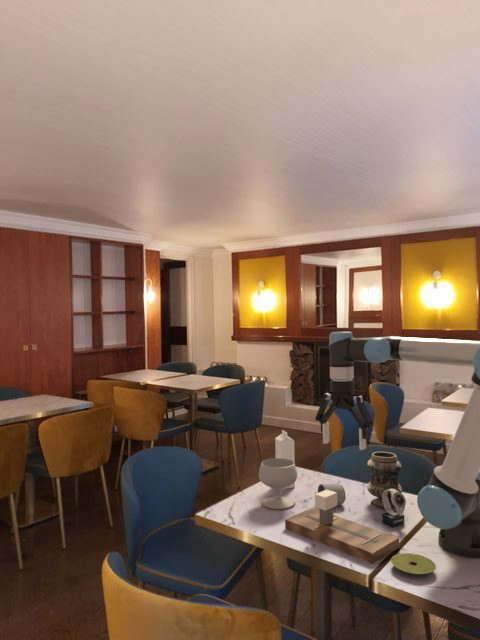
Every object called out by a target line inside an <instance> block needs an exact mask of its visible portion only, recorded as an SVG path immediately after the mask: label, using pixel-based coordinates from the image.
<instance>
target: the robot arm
mask: <svg viewBox="0 0 480 640" xmlns="http://www.w3.org/2000/svg"><path fill="white" fill-rule="evenodd" d="M328 337H329V341H328V342H329V343H328V347H329V348H328V349H329V378H330V379H331V380H330V383H329V384H330V387H329V388H330V392H331V394H330V393H329V392H325V393H323V394H322V399H321V400H322V401H321V403H320V406H319V408H318V410H317V413H316V416H315V421H318V422H319V423H320V432H321V433H322V444H324V445H325V444H329V443H331V441H330V422H328V420H329V419H330V418H331V416H332V415H333V414H334V412H335V411H336V410H337V409H338V410H339V409H340V410H341V409H342V410H347V411H348V412H349V413H350V414H351V416H353V418H354V420H355V421H356V422H357V424H358V425H359V427H360V428H358V437H359V438H358V439H359V441H358V442H359V446H358V447H359V451H363V450H365V449H367V439H369V428H372V427H373V426H374V425H375V424H374V422H373V419H372V418H371V417H372V416H371V415H370V413H369V411H368V408H367V406H366V404H365V400H364V396H363V395H358V396H355V381H354V378H355V374H354V373H355V371H354V370H355V367H354V363H356V362H357V363H359V362H360V363H373V364H376V363H377V364H379V363H385V362H387V361H388V360H389V361H390V360H391V361H403V362H414V363H415V362H416V363H426V364H436V365H437V364H439V365H446V366H447V365H450V366H459V367H460V366H461V367H467V368H468V367H470V368H473V373H472V375H471V378H470V381H471V383H472V385H473V390H472V392H471V394H470V398H469V399H468V403H467V405H466V407H465V410H464V413H463V414H462V417H461V420H460V422H459V424H458V426H457V429H456V432H455V434H454V435H453V438H452V442H451V443H450V446H449V448H448V451H447V454H446V455H445V458H444V460H443V463H442V464H441V465H438V466H436V467H434V469H433V471H432V474H431V476H430V478H429V481H428V483H427V485H425V486H422V488H421V490H419V492H418V494H417V497H416V498H417V499H416V503H417V508H418V509H419V512H420V514H421V516H422V518H423V519H424V521H426V522H427V523H429V524H430V525H431V526H433V527H435V528H437V529H439V532H438V544H439V545H440V547H442V548H443V549H444V550H446V551H448V552H450V553H452V554H454V555H457V556H462V557H466V558H473V559H474V558H477V559H478V558H479V559H480V340H468V339H467V340H466V339H463V340H462V339H447V338H445V339H443V338H426V337H409V336H408V337H406V336H404V337H403V336H398V335H389V336H379V337H376V336H374V337H354V336H353V332H352V331H332V332H331V333H329V336H328ZM330 401H331V403H330ZM354 402H355V403H356V404H355V403H354ZM329 403H330V405H329ZM328 406H329V407H328Z"/></svg>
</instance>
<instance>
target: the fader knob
mask: <svg viewBox="0 0 480 640" xmlns="http://www.w3.org/2000/svg"><path fill="white" fill-rule="evenodd" d="M337 506H338V505H337V493H336V492H333V491H330V490H324V491H322V492H319V493H318V492H317V493H315V494H314V508H315V509H318V510H319V517H320V523H323V524H326V525H328V524H331V523H333V515H334V508H335V507H337Z"/></svg>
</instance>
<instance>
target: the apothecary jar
mask: <svg viewBox="0 0 480 640" xmlns="http://www.w3.org/2000/svg"><path fill="white" fill-rule="evenodd" d="M367 467H368V469H369V470H370V481H369V482H368V483H367V486H366V487H367V491H368V492H369V494H370V495H372V496H373V497H375V498H373V499H372V500H370V505H371V506H372V507H375V508H377V509H381V510H385V508H384V505H383V502H382V494H383V492H384V491H385V490H388V489H395V490H397V491H399V492H400V493H401V494H403V487H402V486H401V484H400V483H399V472H400V471H401V470H402V463H401V462H400V461H399V460H398V458H397V455H396V453H393V452H388V451H375V452H372V454H371V458H370V459H369V460H368V461H367ZM387 497H388V499H389V503H390V506H391V509H392V510H395V509H396V507H395V506H394V505H393V503H392V501H391V494H390V491H389V492H388V494H387Z"/></svg>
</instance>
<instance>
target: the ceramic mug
mask: <svg viewBox="0 0 480 640" xmlns="http://www.w3.org/2000/svg"><path fill="white" fill-rule="evenodd" d="M317 487H318V488H317V493H319V492H322V491H324V490H330V491H333V492H336V493H337V506H340V505H342V504H344V503H345V501H346V492H345V488H344V486H343V485H341V484H340V483H319V485H318V486H317Z"/></svg>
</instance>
